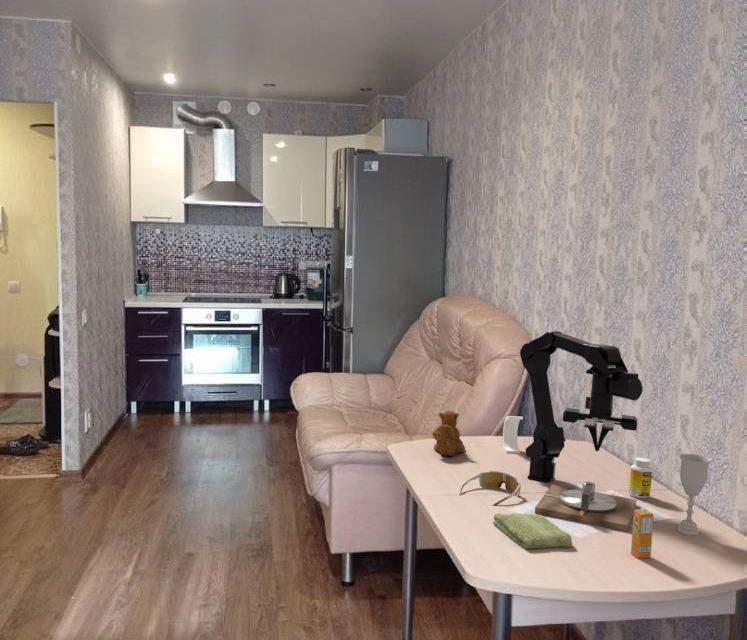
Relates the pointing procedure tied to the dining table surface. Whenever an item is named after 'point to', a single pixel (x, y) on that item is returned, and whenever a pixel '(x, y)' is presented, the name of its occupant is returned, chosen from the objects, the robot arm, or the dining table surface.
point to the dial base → (610, 519)
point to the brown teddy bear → (448, 435)
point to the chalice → (692, 486)
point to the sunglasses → (497, 482)
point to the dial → (587, 499)
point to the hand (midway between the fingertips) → (596, 450)
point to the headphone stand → (511, 434)
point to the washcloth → (532, 531)
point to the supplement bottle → (640, 478)
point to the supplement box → (642, 534)
